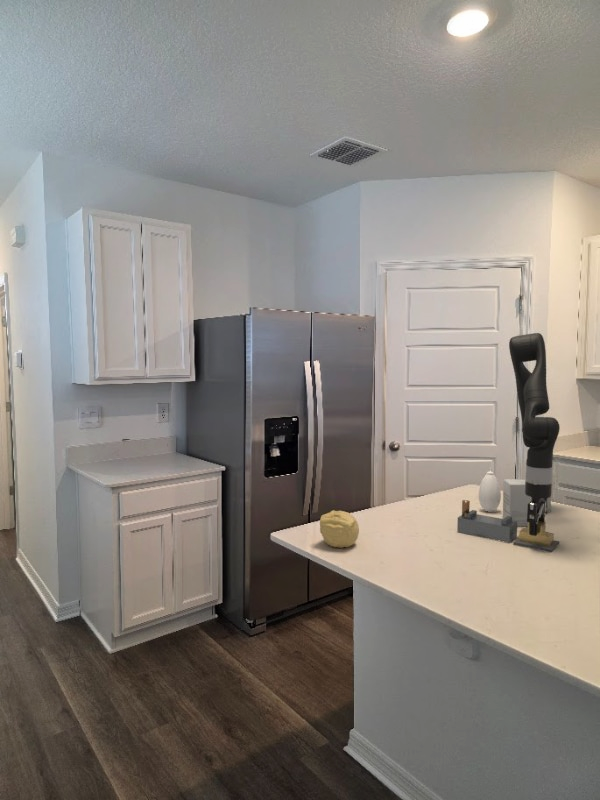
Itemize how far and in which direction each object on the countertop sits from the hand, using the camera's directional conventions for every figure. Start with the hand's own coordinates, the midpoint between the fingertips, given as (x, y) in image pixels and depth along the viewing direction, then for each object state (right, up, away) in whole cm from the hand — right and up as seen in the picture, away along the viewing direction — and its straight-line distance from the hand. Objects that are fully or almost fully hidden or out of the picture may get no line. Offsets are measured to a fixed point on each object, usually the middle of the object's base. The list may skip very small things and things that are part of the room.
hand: (536, 531), depth 166 cm
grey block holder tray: (-12, -3, +10) cm, 16 cm away
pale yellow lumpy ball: (-62, -4, -1) cm, 62 cm away
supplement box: (+4, -3, +23) cm, 23 cm away
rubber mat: (0, -4, 0) cm, 4 cm away
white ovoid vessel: (-2, -2, +37) cm, 37 cm away
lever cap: (0, -3, 0) cm, 3 cm away
